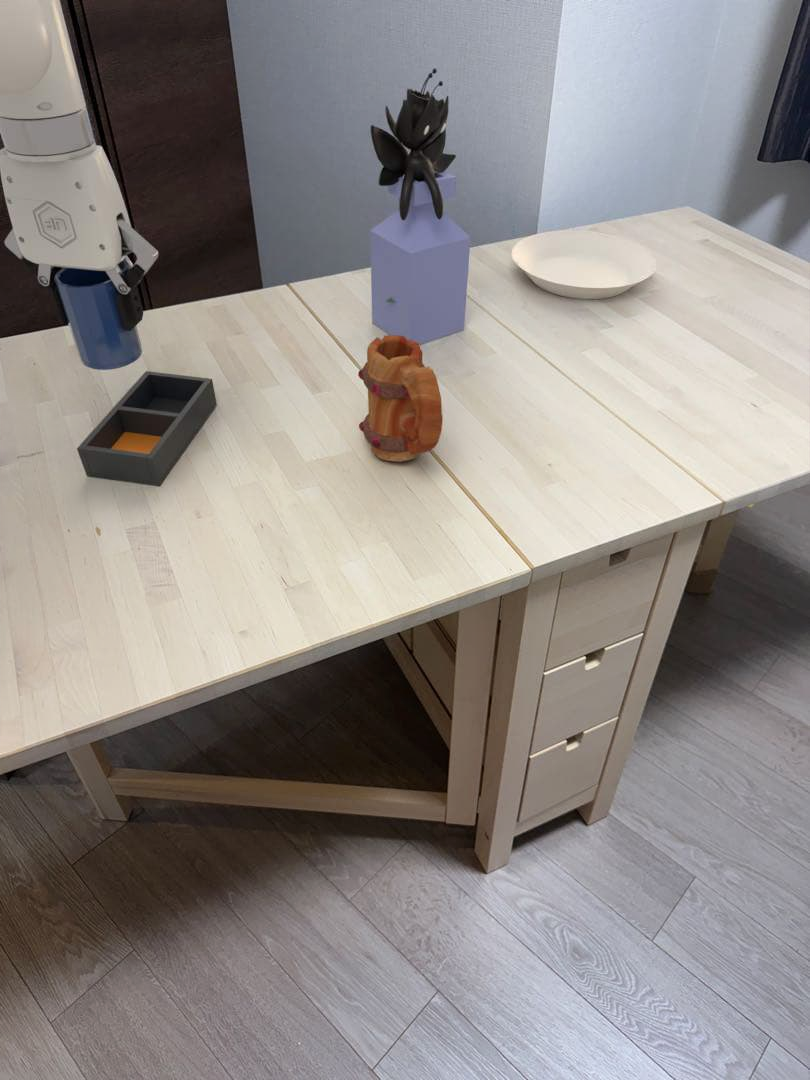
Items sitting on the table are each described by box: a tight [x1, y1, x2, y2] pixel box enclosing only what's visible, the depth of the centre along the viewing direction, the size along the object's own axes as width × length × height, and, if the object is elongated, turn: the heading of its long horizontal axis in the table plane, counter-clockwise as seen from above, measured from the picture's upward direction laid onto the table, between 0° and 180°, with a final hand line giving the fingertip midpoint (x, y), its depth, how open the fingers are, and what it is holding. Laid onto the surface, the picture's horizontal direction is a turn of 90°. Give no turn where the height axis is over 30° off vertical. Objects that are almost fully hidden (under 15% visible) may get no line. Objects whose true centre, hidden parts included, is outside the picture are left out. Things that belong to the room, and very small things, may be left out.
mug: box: [357, 334, 443, 462], centre depth 87 cm, size 15×8×15 cm, turn 25°
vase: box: [369, 68, 472, 346], centre depth 105 cm, size 14×12×35 cm
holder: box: [76, 370, 218, 487], centre depth 94 cm, size 9×18×4 cm, turn 169°
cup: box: [54, 265, 143, 371], centre depth 77 cm, size 6×6×9 cm
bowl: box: [511, 229, 658, 300], centre depth 131 cm, size 25×25×4 cm
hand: (101, 319), depth 78 cm, fingers closed on cup, 6 cm apart
